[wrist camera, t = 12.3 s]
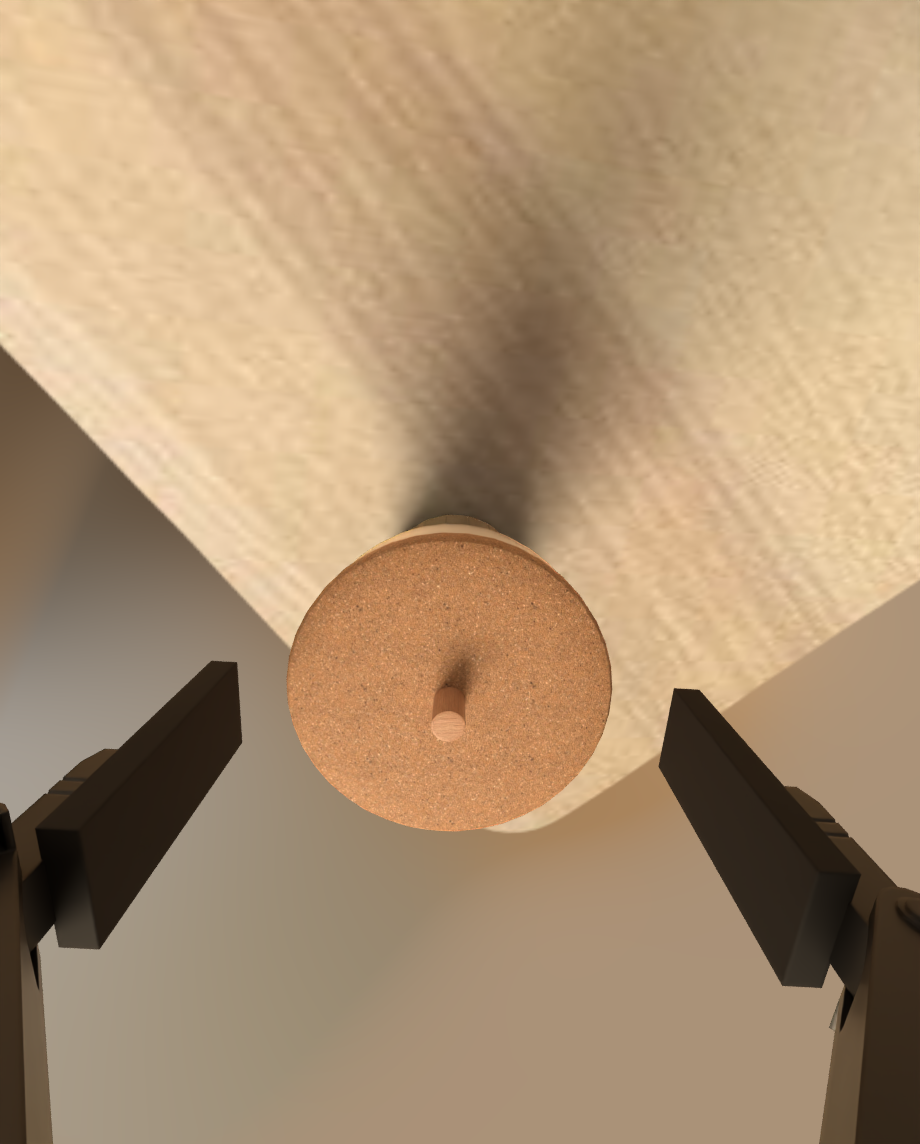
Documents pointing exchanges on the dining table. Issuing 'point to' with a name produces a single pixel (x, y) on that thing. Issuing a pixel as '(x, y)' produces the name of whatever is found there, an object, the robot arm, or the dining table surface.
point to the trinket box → (449, 680)
